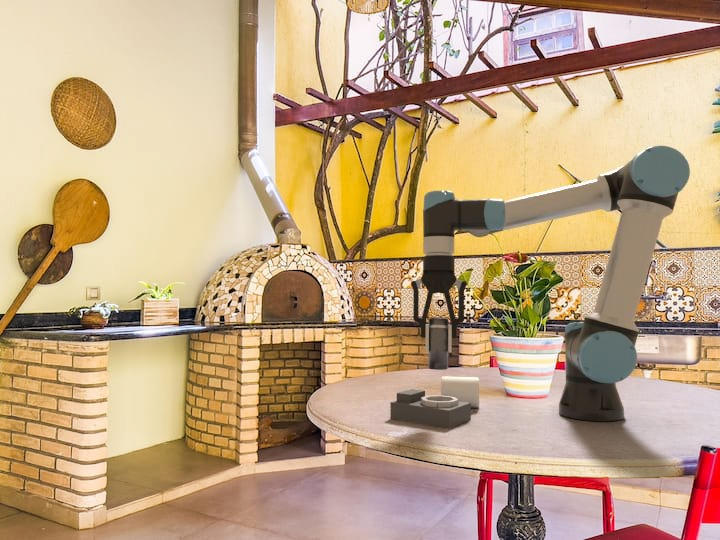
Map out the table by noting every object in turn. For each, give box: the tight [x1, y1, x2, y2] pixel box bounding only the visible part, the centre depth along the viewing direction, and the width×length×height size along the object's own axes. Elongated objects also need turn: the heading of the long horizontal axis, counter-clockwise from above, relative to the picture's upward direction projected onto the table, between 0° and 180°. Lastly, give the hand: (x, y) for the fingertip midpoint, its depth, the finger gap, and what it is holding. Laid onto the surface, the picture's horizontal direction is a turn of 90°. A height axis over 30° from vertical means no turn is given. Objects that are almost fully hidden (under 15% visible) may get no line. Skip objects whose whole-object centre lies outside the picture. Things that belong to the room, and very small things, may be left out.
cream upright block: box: [440, 376, 480, 409], centre depth 153 cm, size 12×10×8 cm
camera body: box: [389, 388, 472, 429], centre depth 136 cm, size 16×11×6 cm
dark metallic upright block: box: [427, 317, 449, 371], centre depth 135 cm, size 5×5×12 cm
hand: (438, 351), depth 135 cm, fingers closed on dark metallic upright block, 5 cm apart
